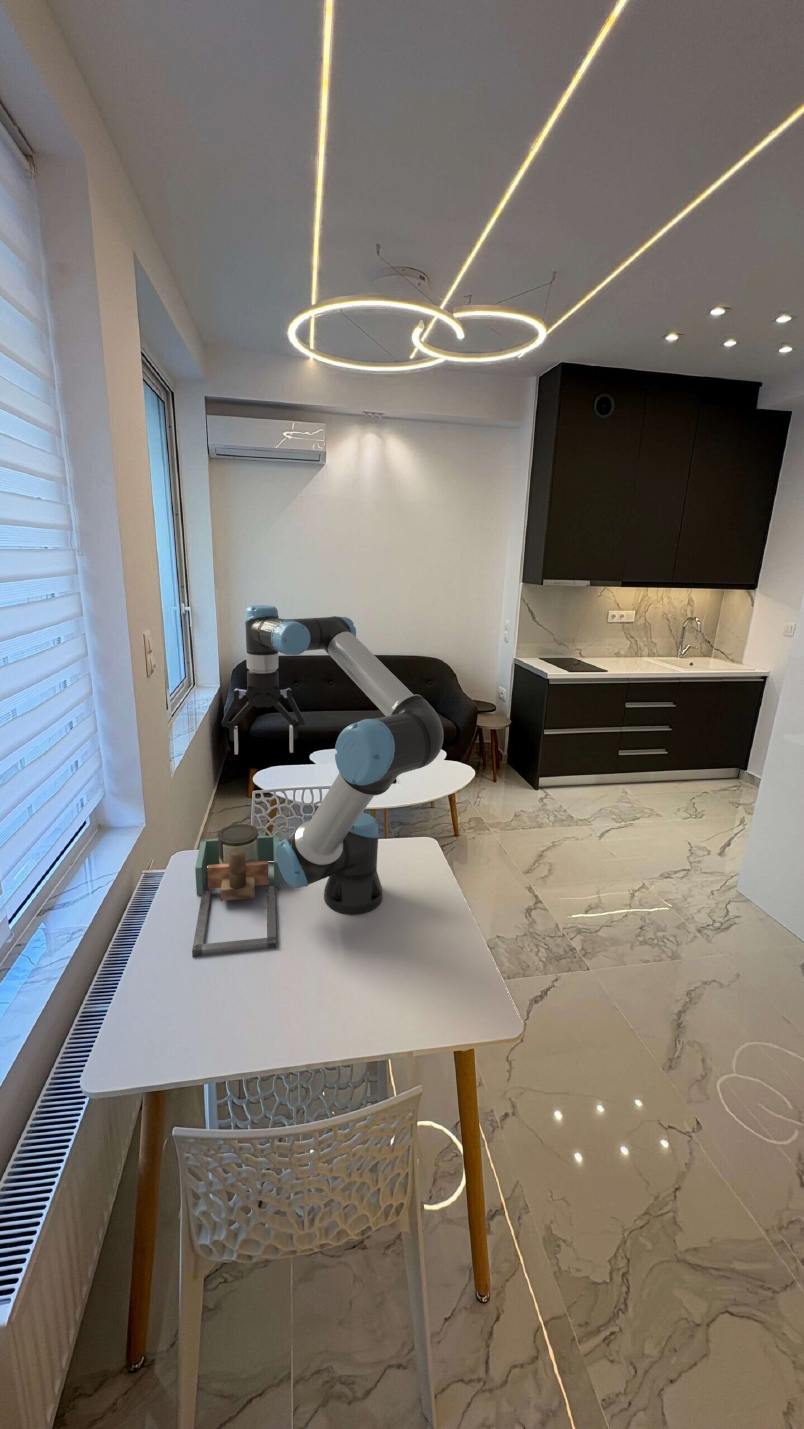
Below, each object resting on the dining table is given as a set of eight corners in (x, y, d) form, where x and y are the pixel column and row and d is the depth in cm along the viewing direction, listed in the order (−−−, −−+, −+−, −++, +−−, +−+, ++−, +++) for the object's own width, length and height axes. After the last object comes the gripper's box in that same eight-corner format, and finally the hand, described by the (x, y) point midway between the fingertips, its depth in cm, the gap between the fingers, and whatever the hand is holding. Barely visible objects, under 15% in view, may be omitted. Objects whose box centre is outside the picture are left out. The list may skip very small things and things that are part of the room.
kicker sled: (268, 880, 155) (267, 840, 151) (268, 896, 148) (268, 854, 145) (208, 885, 151) (206, 843, 148) (206, 901, 144) (204, 858, 141)
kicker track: (274, 890, 154) (274, 885, 154) (276, 948, 132) (276, 942, 132) (202, 896, 150) (202, 891, 149) (192, 956, 128) (192, 950, 128)
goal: (278, 860, 169) (278, 835, 166) (280, 888, 155) (279, 861, 153) (202, 865, 164) (200, 839, 162) (196, 895, 150) (195, 867, 148)
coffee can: (211, 881, 157) (209, 833, 153) (241, 865, 165) (240, 820, 161) (237, 895, 151) (235, 846, 147) (267, 878, 160) (266, 831, 156)
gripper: (313, 666, 149) (312, 745, 155) (210, 666, 144) (214, 748, 150) (315, 673, 142) (314, 755, 148) (207, 673, 137) (211, 758, 143)
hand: (264, 751), depth 149 cm, fingers open, 13 cm apart
